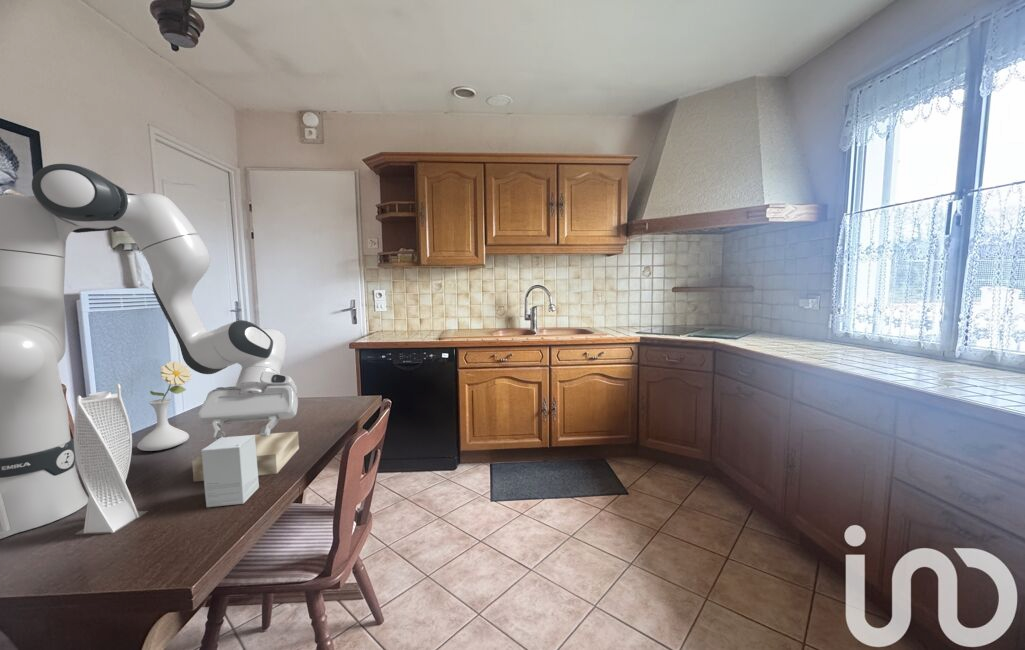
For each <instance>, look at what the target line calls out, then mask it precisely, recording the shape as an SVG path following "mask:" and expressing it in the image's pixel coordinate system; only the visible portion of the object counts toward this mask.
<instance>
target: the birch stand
mask: <svg viewBox="0 0 1025 650" xmlns="http://www.w3.org/2000/svg"><path fill="white" fill-rule="evenodd" d="M249 435H250V434H247V435H244V436H249ZM254 435H255V443H256V455H257V468H258V477H259V476H266V475H267V476H268V475H277V474H279V472H280V471H281V470H282V468H283V467H285V465H286V464H287V463H288V462H289V460H290V459H291V458H292V457H293V456H294V455H295V454H296V453H297V451H298V450H299V449H300V445H299V444H300V442H299V431H289V432H276V433H275V432H272V433H270V435H269V436H264V437H262V436H261V435H260V433H258V434H254ZM236 436H237V435H234V436H233V435H232V436H231V437H236ZM191 465H192V475H193V476H192V477H193V482H204V476H203V465H202V455H199V456H198V457H196V458H195V459H193V460H192V461H191Z"/></svg>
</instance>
